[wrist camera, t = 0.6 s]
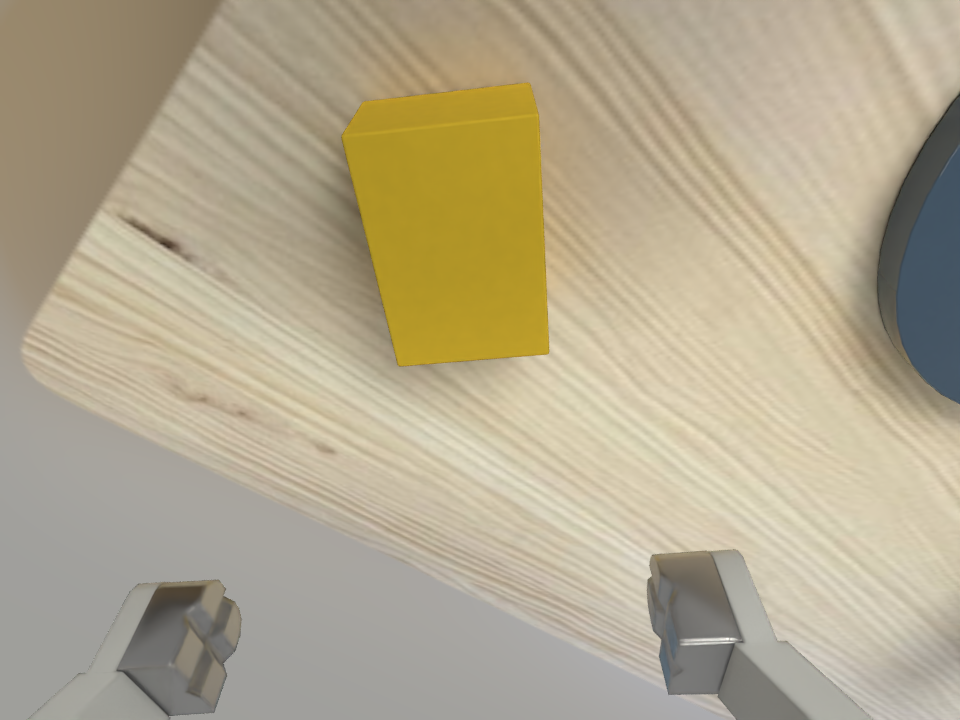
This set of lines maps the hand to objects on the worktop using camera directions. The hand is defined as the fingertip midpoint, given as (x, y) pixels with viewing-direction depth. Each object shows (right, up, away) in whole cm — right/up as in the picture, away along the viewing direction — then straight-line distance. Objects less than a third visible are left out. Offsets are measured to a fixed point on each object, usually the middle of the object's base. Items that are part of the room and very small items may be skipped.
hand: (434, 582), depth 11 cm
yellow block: (0, +10, +12) cm, 16 cm away
